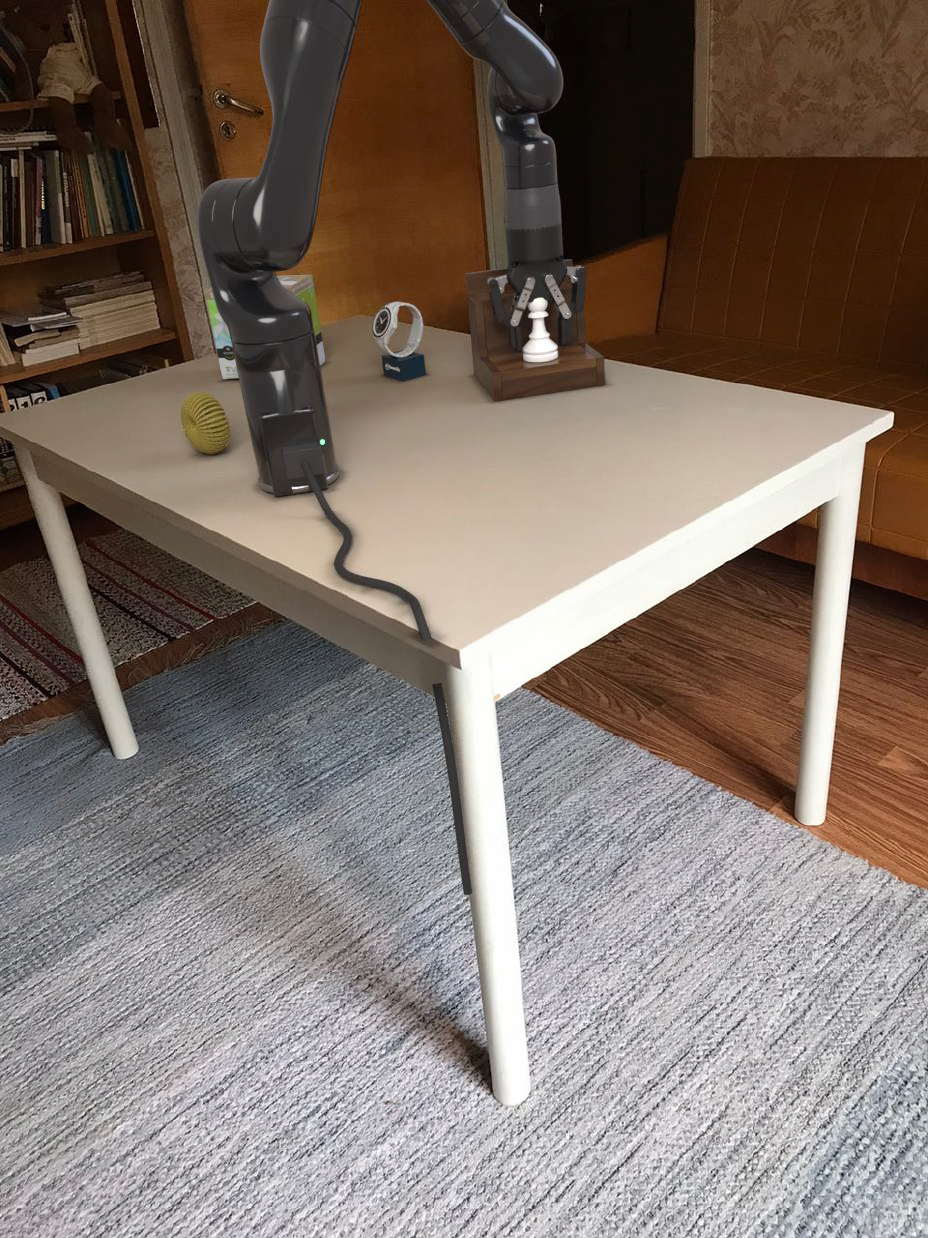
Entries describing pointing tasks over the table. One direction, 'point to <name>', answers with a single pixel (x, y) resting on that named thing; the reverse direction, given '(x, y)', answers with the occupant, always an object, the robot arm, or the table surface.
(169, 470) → the table surface
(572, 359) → the shelf
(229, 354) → the tea box
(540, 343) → the chess pawn
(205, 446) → the sculpture
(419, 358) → the watch
